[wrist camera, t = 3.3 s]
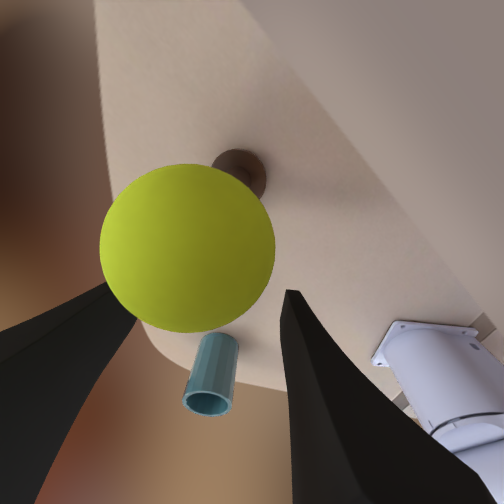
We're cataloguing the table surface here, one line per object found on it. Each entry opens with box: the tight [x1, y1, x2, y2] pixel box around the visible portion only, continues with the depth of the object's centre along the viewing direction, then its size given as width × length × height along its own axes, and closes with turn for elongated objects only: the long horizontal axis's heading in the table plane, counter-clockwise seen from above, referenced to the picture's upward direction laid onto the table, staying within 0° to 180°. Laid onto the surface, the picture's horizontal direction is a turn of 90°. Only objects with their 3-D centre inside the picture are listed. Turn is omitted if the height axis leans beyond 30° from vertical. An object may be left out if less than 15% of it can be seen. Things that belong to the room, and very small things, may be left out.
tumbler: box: [182, 333, 239, 417], centre depth 25 cm, size 5×5×7 cm
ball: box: [100, 164, 275, 333], centre depth 7 cm, size 5×5×5 cm
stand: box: [212, 149, 266, 199], centre depth 13 cm, size 5×5×10 cm
